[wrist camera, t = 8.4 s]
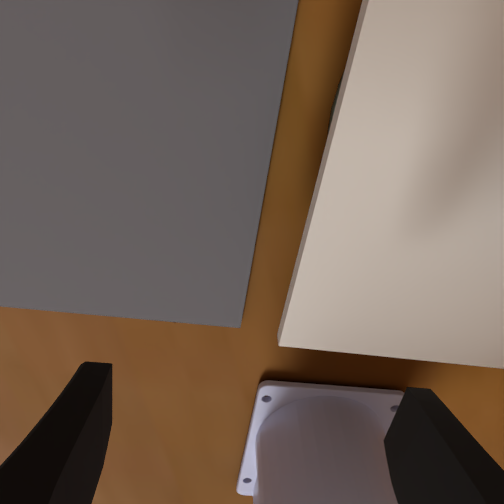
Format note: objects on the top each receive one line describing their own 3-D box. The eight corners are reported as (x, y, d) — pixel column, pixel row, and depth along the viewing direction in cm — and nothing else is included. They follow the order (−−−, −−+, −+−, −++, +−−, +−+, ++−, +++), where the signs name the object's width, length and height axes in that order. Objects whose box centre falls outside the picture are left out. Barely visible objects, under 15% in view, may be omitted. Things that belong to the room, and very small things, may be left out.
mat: (240, 321, 23) (240, 327, 23) (-143, 285, 21) (-151, 292, 21) (317, -119, 14) (319, -121, 14) (-317, -243, 13) (-336, -251, 12)
